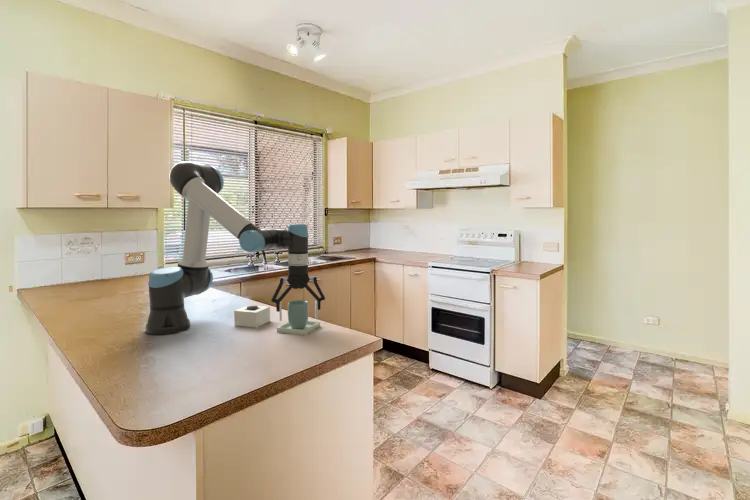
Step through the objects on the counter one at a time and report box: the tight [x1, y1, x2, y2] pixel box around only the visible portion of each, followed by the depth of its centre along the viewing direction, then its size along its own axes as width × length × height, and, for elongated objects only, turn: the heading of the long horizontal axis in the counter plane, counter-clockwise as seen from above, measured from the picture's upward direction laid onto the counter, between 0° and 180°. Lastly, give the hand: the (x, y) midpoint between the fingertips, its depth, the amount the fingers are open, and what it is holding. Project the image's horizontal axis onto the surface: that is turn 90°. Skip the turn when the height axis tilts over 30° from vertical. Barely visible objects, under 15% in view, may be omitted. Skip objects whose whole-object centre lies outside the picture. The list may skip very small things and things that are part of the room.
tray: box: [276, 320, 321, 336], centre depth 152 cm, size 12×12×2 cm
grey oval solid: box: [247, 305, 259, 311], centre depth 160 cm, size 4×4×6 cm
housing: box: [233, 304, 271, 328], centre depth 160 cm, size 10×10×6 cm
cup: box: [287, 299, 309, 329], centre depth 151 cm, size 8×8×10 cm
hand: (298, 318), depth 152 cm, fingers open, 13 cm apart
